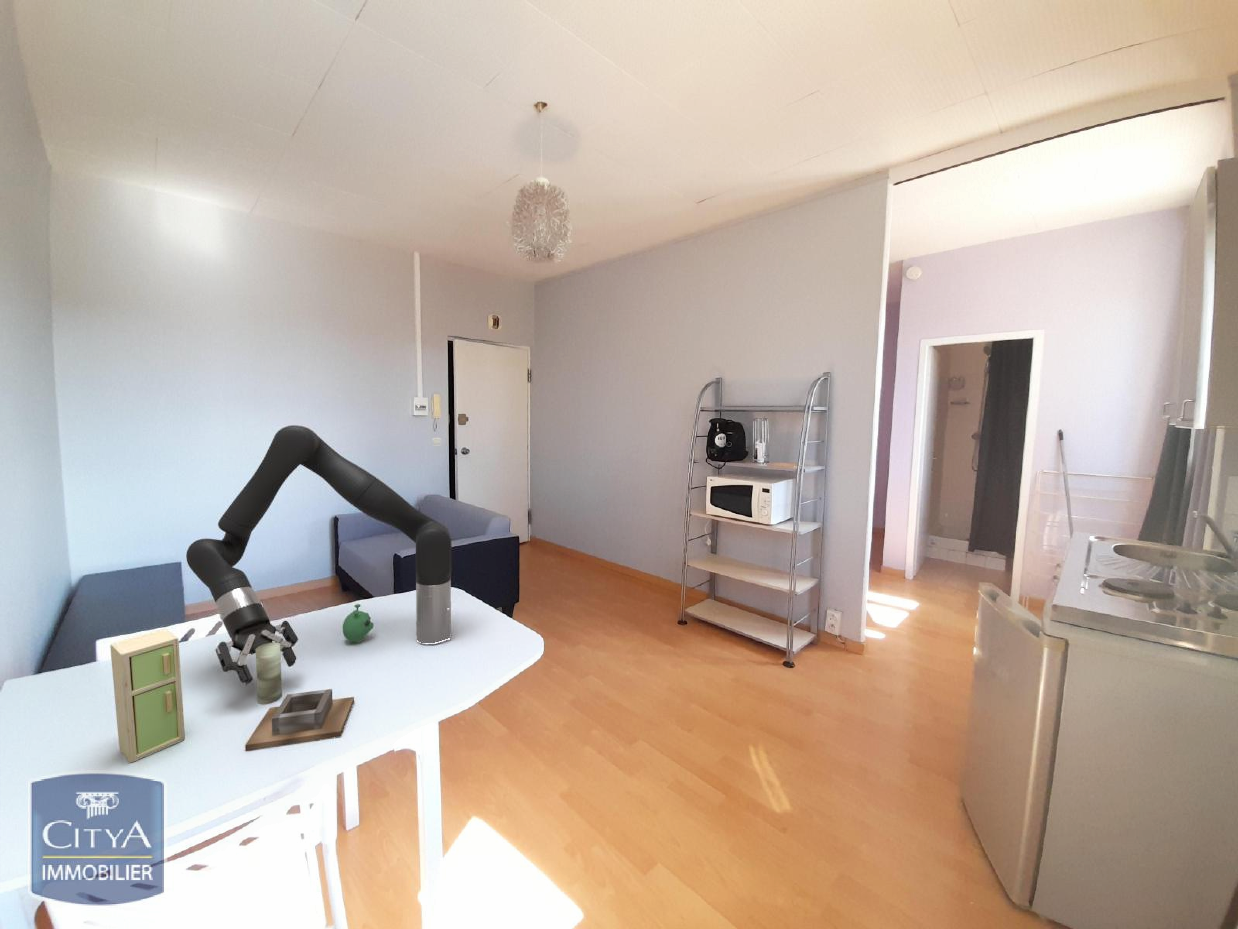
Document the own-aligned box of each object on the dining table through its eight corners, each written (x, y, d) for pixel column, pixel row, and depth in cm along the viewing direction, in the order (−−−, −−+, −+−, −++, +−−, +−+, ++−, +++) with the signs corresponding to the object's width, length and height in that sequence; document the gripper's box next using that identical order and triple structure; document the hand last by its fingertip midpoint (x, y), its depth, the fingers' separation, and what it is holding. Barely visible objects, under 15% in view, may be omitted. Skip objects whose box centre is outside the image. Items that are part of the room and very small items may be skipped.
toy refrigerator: (129, 766, 86) (121, 655, 83) (117, 750, 89) (109, 643, 87) (187, 741, 92) (181, 638, 90) (173, 727, 96) (167, 627, 94)
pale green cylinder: (284, 691, 110) (283, 641, 108) (277, 702, 105) (275, 650, 104) (262, 694, 108) (260, 643, 107) (254, 705, 104) (251, 653, 103)
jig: (354, 701, 107) (353, 682, 106) (340, 736, 95) (340, 714, 95) (269, 713, 102) (269, 692, 101) (245, 751, 90) (244, 727, 90)
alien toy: (372, 644, 133) (372, 610, 132) (341, 648, 130) (340, 613, 129) (374, 633, 139) (374, 600, 138) (344, 637, 136) (344, 603, 135)
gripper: (209, 614, 102) (240, 680, 98) (282, 593, 114) (311, 651, 110) (199, 632, 105) (228, 697, 101) (270, 610, 117) (299, 667, 113)
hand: (271, 673), depth 106 cm, fingers open, 8 cm apart
